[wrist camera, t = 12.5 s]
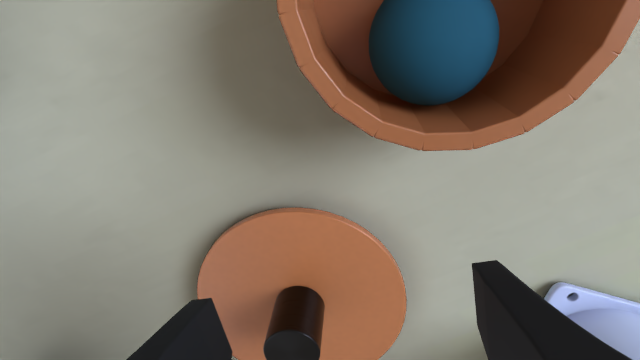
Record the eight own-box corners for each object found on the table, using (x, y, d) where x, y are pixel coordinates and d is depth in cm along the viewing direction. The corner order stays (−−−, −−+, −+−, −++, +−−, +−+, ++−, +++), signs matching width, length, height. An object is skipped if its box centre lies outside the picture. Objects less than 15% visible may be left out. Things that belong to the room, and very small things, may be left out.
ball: (517, -62, 12) (526, 67, 11) (474, 26, 17) (478, 125, 16) (373, -61, 13) (369, 64, 12) (367, 25, 17) (363, 122, 16)
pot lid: (435, 235, 20) (455, 290, 16) (367, 385, 25) (370, 457, 21) (221, 176, 20) (188, 218, 16) (191, 339, 24) (159, 403, 20)
